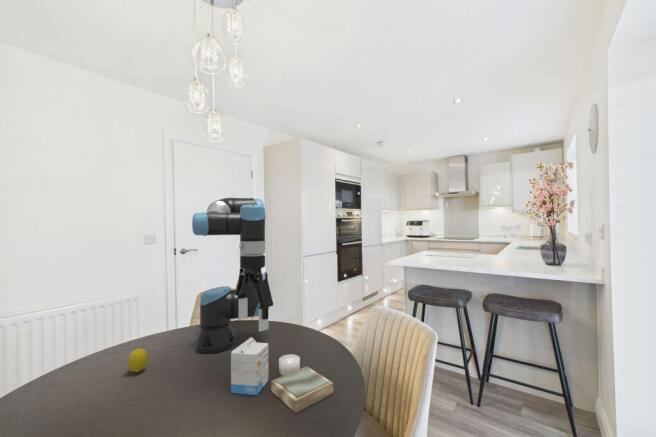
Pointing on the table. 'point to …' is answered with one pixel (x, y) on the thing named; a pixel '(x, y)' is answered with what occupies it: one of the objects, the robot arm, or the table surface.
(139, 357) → the lemon
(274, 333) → the table surface
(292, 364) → the white domed cylinder
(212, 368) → the table surface
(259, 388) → the ink box
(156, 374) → the table surface
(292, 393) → the oak picture frame
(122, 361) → the table surface
